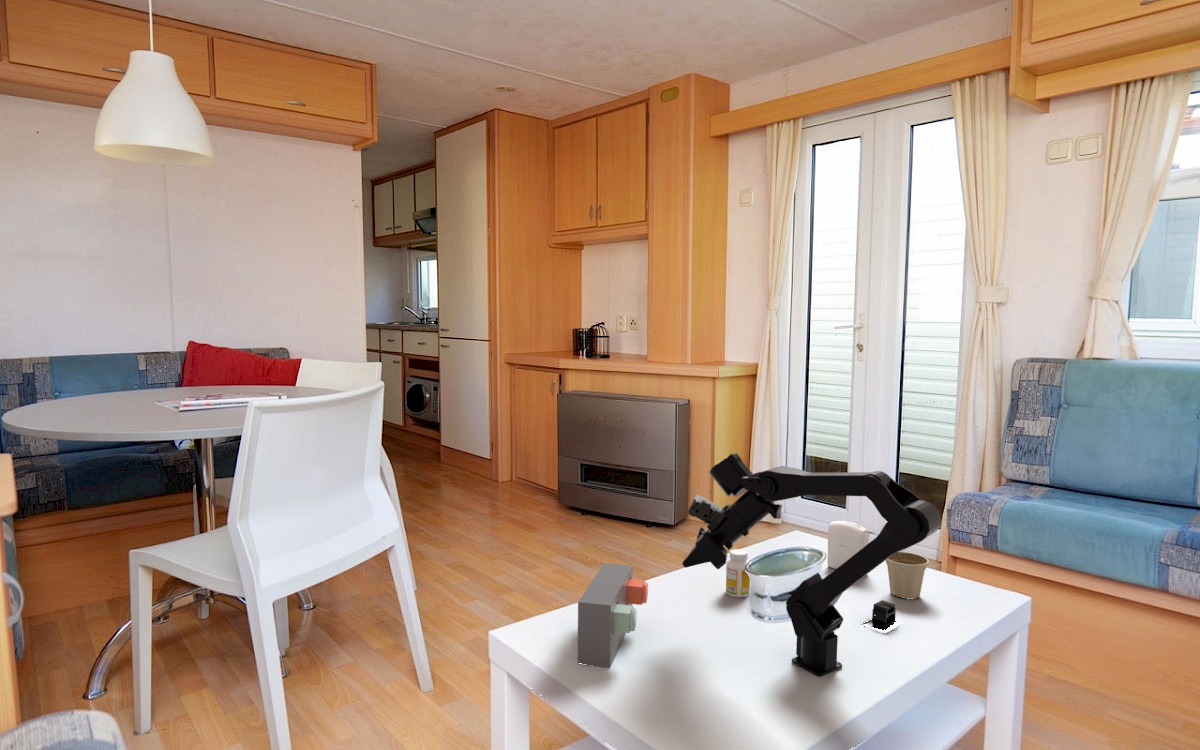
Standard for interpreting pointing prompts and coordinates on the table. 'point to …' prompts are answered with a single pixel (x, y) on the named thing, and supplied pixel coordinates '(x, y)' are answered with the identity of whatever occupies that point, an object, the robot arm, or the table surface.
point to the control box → (602, 615)
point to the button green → (624, 618)
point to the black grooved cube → (882, 615)
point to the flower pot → (906, 574)
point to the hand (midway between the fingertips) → (683, 565)
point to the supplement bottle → (737, 574)
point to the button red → (637, 592)
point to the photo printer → (845, 541)
